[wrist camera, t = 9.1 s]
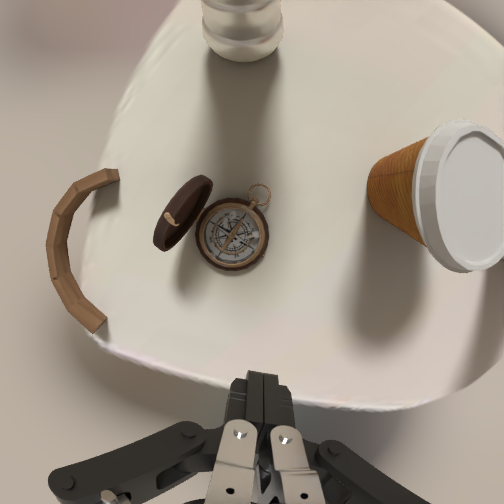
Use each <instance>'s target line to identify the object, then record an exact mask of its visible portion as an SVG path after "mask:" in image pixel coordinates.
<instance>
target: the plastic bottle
mask: <svg viewBox="0 0 504 504" xmlns="http://www.w3.org/2000/svg"><path fill="white" fill-rule="evenodd" d="M201 5H202V12H203V18H202V30H203V35H204V38H205V40H206V42H207V43H208V45H209V46H210V47H211V48H212V49H213V50H214V52H215V53H217V54H218V55H220V56H221V57H223V58H225V59H228V60H231V61H237V62H251V61H256V60H259V59H262V58H264V57H266V56H268V55H269V54H271V53H272V52H273V51H274V50H275V49H276V47H277V46H278V44H279V43H280V41H281V39H282V37H283V32H284V28H283V17H282V14H281V0H201Z"/></svg>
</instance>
